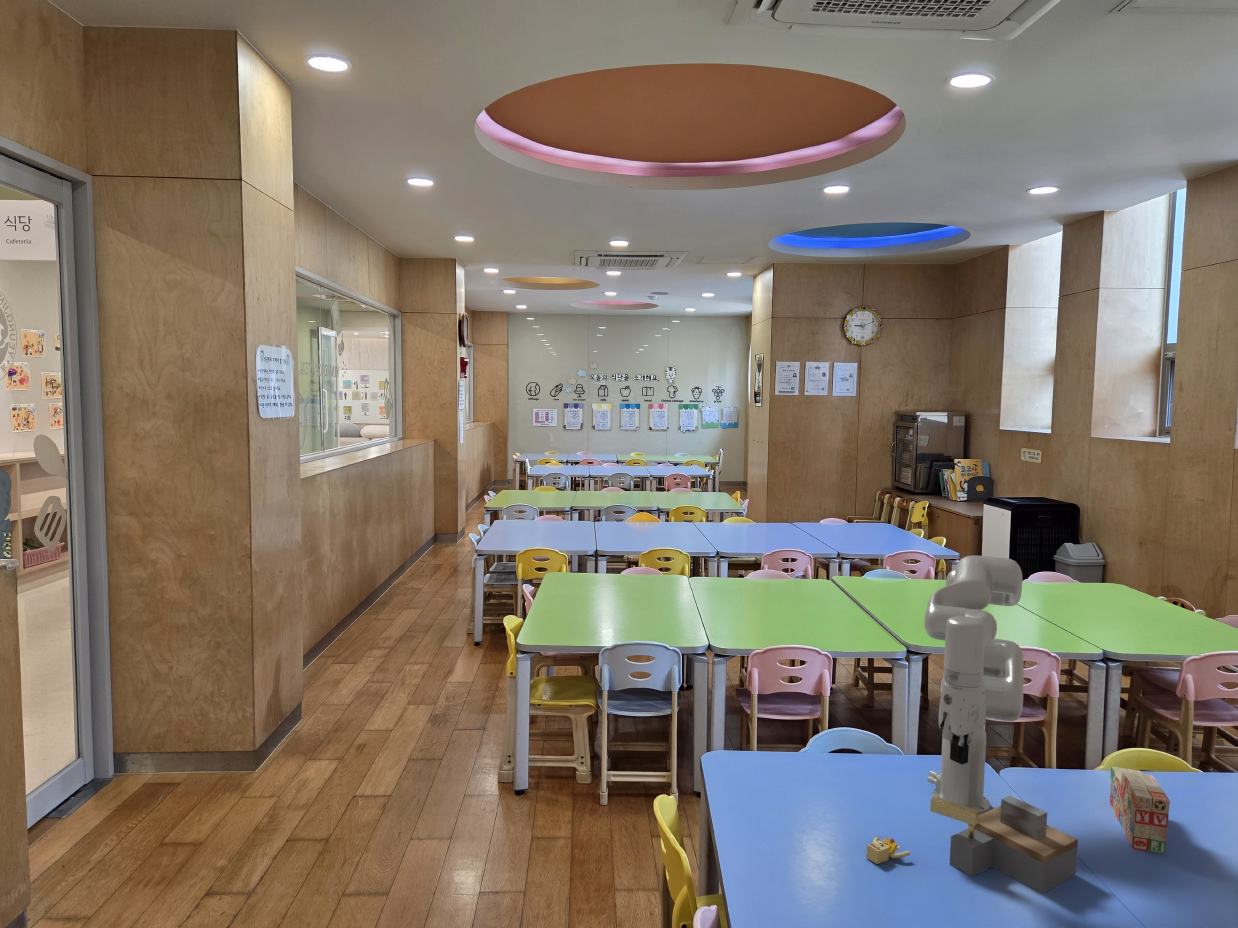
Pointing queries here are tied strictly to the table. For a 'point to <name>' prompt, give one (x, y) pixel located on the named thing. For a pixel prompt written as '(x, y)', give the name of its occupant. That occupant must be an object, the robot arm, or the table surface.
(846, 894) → the table surface
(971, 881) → the table surface
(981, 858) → the grey l-shaped block
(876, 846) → the character toy
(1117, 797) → the stack of blocks
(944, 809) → the brass bar
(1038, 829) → the walnut lid
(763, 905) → the table surface
